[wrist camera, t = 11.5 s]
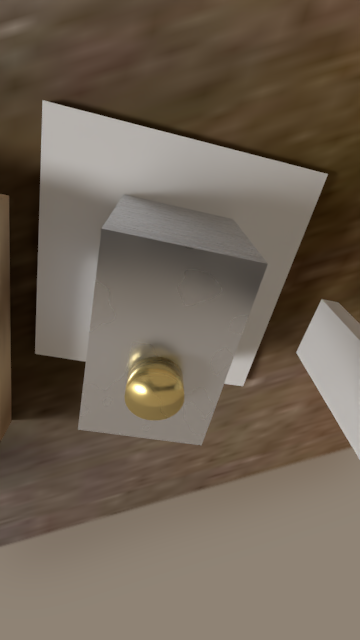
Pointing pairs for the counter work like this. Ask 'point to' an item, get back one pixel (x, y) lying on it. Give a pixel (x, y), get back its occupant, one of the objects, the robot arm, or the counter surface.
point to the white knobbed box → (165, 319)
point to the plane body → (5, 317)
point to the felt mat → (162, 186)
